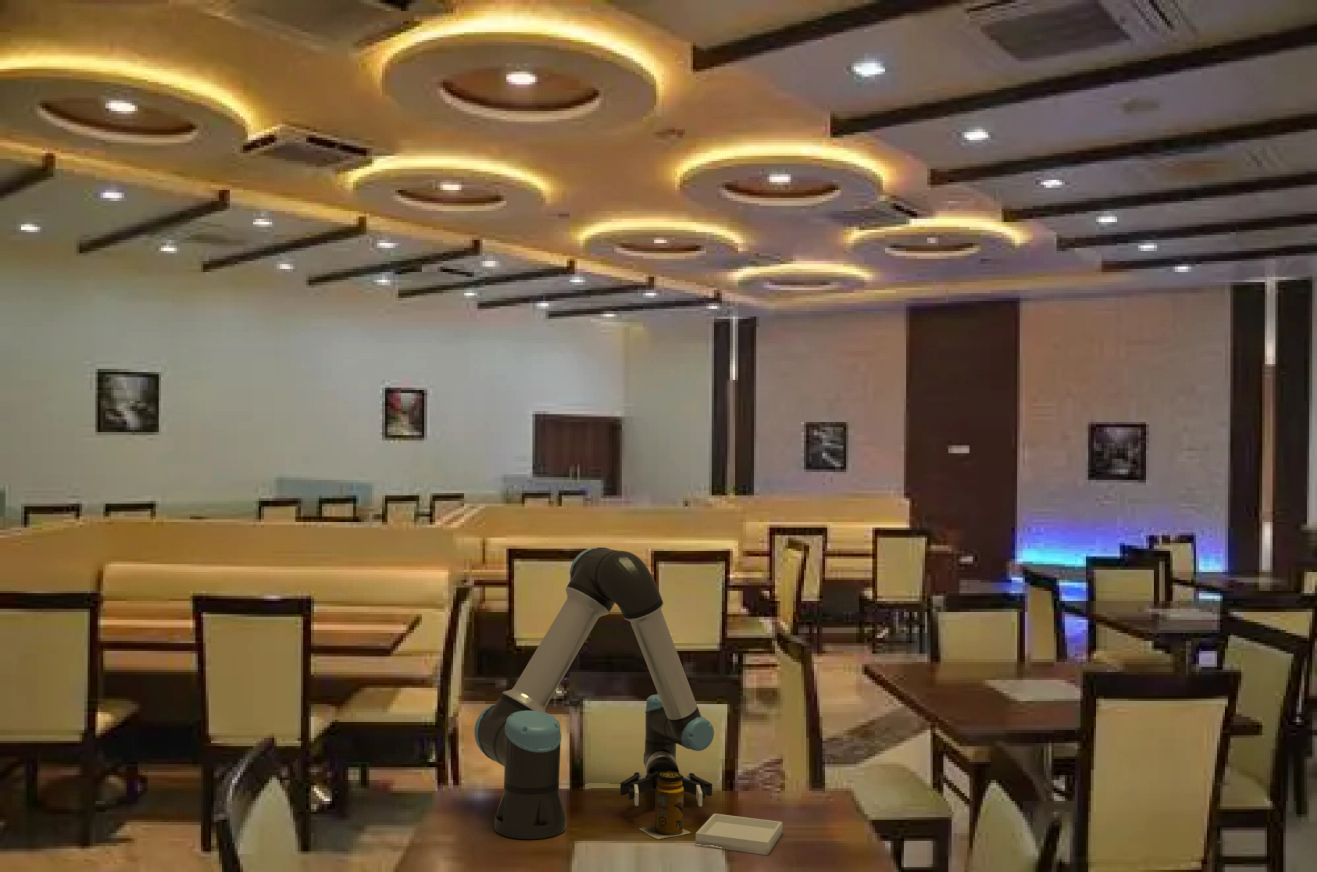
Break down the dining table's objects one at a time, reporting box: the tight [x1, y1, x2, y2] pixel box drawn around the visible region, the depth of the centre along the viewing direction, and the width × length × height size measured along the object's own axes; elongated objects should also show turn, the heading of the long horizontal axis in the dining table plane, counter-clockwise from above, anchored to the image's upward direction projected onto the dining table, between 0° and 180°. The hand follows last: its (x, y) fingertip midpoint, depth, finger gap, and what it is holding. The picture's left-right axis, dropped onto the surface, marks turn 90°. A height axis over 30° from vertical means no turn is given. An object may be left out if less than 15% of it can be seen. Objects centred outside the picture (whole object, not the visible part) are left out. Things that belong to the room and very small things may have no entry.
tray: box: [695, 813, 783, 856], centre depth 229 cm, size 15×14×2 cm
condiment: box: [638, 772, 692, 840], centre depth 233 cm, size 7×8×12 cm
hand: (668, 799), depth 234 cm, fingers open, 13 cm apart
